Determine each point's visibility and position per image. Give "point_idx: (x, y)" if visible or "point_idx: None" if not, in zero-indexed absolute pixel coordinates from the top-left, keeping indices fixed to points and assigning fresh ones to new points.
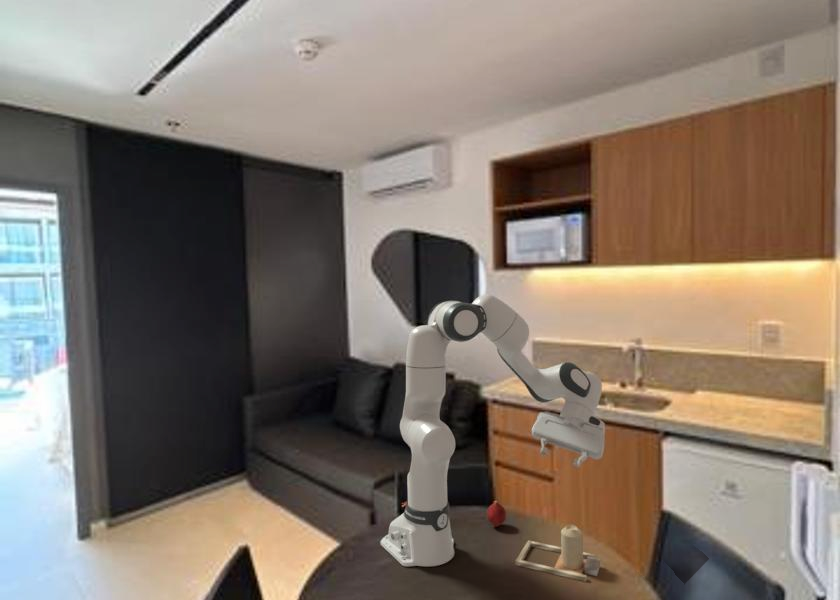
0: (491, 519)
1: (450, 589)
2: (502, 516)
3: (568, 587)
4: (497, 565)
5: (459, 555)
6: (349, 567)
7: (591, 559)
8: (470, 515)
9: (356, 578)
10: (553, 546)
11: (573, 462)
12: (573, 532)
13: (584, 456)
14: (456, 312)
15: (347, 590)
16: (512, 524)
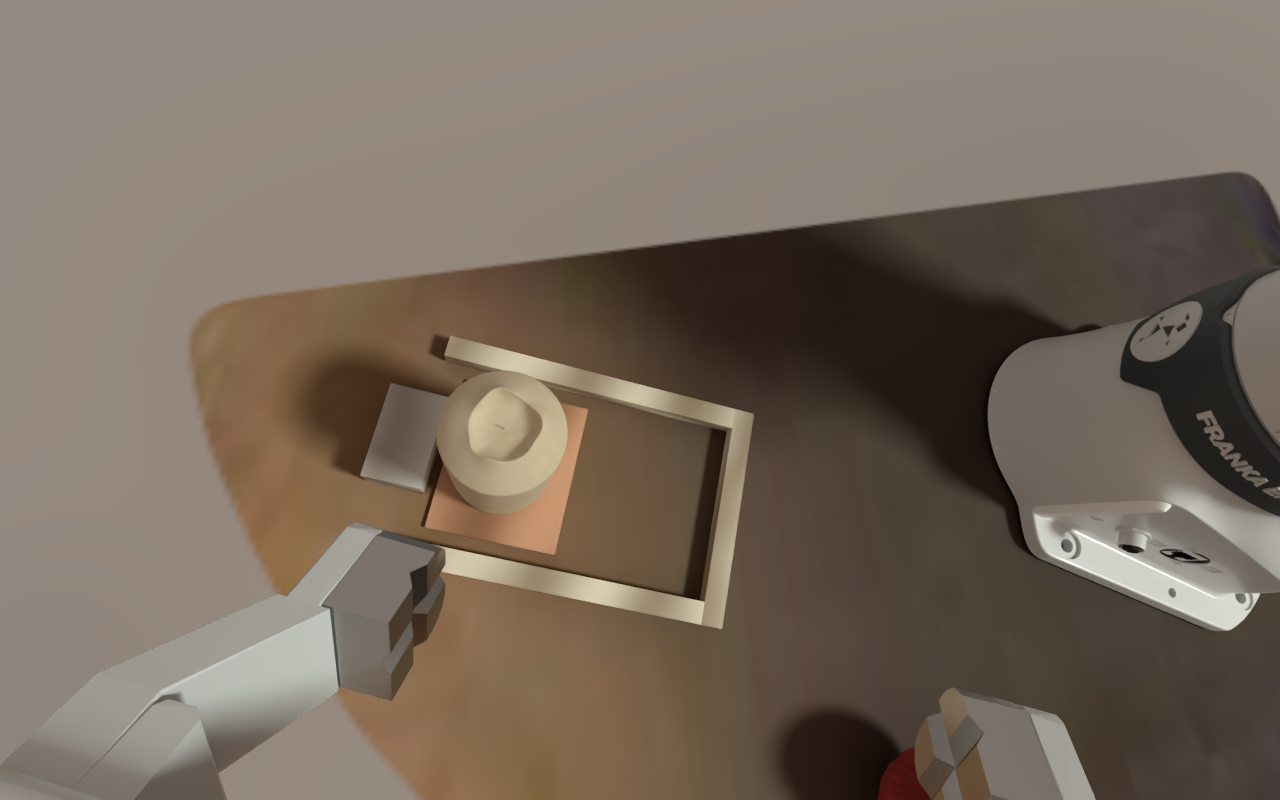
0: None
1: (924, 226)
2: (904, 775)
3: (528, 293)
4: (814, 400)
5: (969, 447)
6: None
7: (405, 460)
8: None
9: (1194, 246)
10: (592, 592)
11: (440, 550)
12: (495, 383)
13: (165, 648)
14: None
15: (1180, 187)
16: None
